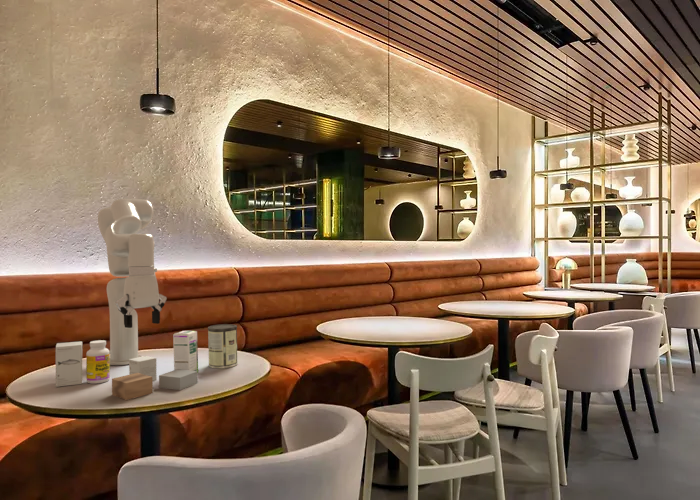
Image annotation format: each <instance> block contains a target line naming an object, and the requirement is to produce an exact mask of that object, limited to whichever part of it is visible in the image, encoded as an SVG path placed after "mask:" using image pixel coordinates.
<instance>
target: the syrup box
mask: <svg viewBox="0 0 700 500" xmlns="http://www.w3.org/2000/svg"><path fill="white" fill-rule="evenodd" d="M172 336H173V337H172V338H173V370H176V369H179V370H190V371H197V374H199V356H198V355H199V354H198V353H199V352H198V351H199V350H198V348H199V347H198V331H197V330H182V331H179V332H175V333H174V334H173V335H172Z"/></svg>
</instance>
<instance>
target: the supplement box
mask: <svg viewBox="0 0 700 500" xmlns="http://www.w3.org/2000/svg"><path fill="white" fill-rule="evenodd" d="M82 384H83V341H70V342H57V343H56V345H55V388H59V387H66V386H74V385H75V386H76V385H82Z"/></svg>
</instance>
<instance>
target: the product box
mask: <svg viewBox="0 0 700 500" xmlns="http://www.w3.org/2000/svg"><path fill="white" fill-rule="evenodd" d="M141 356H142V355H141ZM128 365H129V366H128V367H129V371H128V375H130V374H135V373H141V374H144V375H148V376H151V377H152V380H153V382H155V381H157V378H158V377H157V376H158V375H157V358H156V357H153V356H147V355H143V356H142V357H138V358H133V359H129V364H128Z"/></svg>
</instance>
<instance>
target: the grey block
mask: <svg viewBox="0 0 700 500" xmlns="http://www.w3.org/2000/svg"><path fill="white" fill-rule="evenodd" d="M198 383H199V381H198V373H197V371H190V370H179V369H176V370H174V369H173V370H170V371H167V372H165V373H162V374H160V375H159V376H158V388H160V389H168V390H177V391H182V390H184V389H186V388H189V387H191V386H194V385H196V384H198Z"/></svg>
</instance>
